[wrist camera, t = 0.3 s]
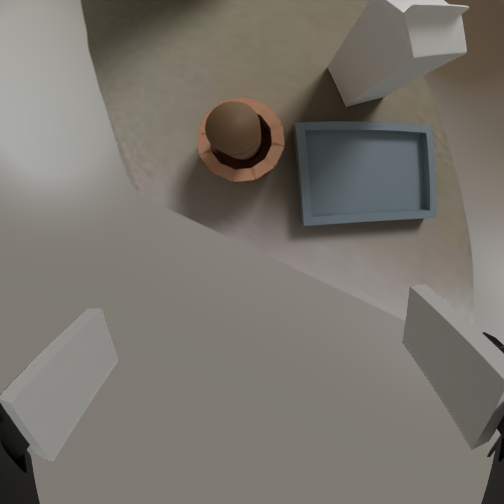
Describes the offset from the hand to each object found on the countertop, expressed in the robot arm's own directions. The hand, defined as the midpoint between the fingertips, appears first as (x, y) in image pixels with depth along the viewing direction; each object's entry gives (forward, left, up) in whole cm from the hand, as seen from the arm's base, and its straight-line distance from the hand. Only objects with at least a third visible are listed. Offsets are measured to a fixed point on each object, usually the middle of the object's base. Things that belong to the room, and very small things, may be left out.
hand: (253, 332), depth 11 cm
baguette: (-10, -1, -25) cm, 27 cm away
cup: (-10, -1, -26) cm, 28 cm away
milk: (-18, +14, -27) cm, 35 cm away
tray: (-6, +14, -26) cm, 30 cm away
